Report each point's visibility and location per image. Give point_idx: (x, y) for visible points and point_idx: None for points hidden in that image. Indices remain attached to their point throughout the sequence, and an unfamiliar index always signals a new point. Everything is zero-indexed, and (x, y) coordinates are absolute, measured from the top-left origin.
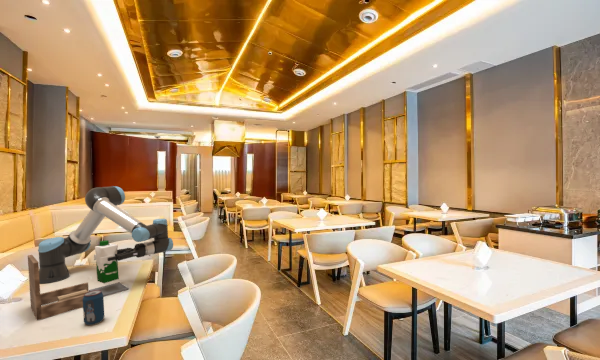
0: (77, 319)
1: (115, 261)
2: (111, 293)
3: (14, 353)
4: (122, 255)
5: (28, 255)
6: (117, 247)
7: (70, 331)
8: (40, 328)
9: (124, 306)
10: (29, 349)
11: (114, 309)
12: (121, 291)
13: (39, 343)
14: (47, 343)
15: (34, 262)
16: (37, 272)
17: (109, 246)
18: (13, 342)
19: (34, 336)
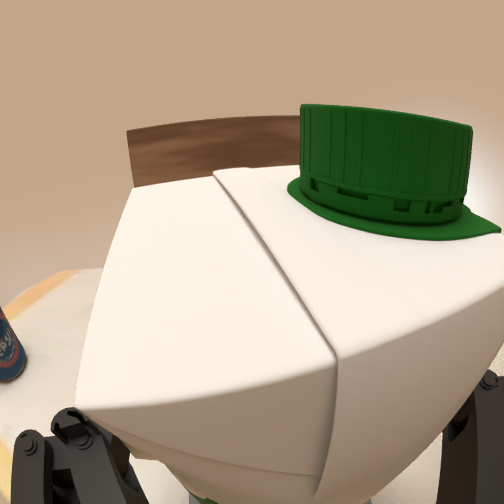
0: (62, 350)
1: (184, 486)
2: (190, 496)
3: (52, 275)
4: (15, 487)
5: (295, 115)
6: (172, 466)
7: (25, 328)
8: None
9: (7, 452)
10: (40, 286)
11: (18, 426)
12: None
13: (42, 295)
14: (29, 301)
15: (138, 128)
16: (131, 164)
17: (127, 230)
18: (91, 274)
19: (77, 292)
